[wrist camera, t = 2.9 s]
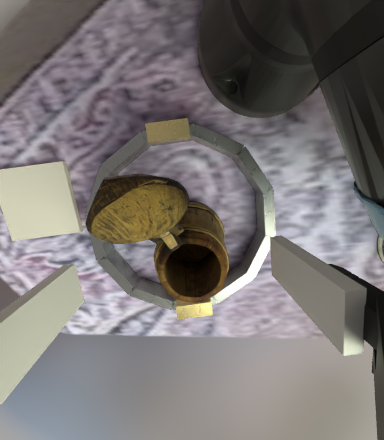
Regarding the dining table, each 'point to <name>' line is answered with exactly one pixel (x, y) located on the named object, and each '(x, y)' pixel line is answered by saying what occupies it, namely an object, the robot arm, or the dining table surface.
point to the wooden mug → (164, 231)
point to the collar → (264, 210)
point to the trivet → (39, 201)
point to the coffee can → (381, 248)
